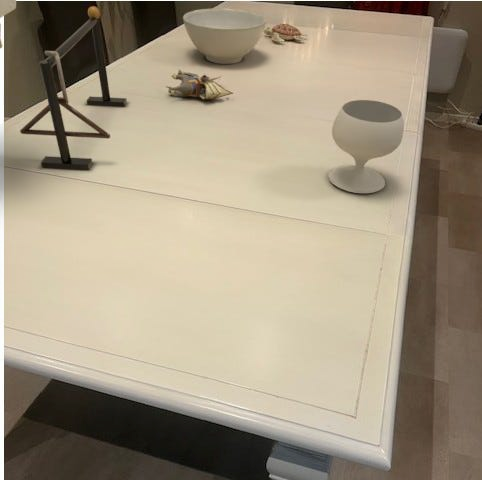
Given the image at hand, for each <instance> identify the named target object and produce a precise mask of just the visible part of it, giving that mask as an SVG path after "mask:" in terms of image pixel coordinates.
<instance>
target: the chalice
mask: <svg viewBox="0 0 482 480" xmlns="http://www.w3.org/2000/svg"><path fill="white" fill-rule="evenodd" d="M404 128H405V124H404V117H403V114H402V111H401V110H400V109H399V108H397V107H396V106H394V105H391V104H389V103H386V102H382V101H378V100H372V99H371V100H369V99H357V100H352V101H351V100H350V101H348V102H346V103H344V104H343V105H342V106H341V107H340V109H339V111H338V112H337V114H336V116H335V119H334V121H333V124H332V127H331V135H332V139H333V141H334V144H335V145H336V146H337V147H338V148H339V149H340V150H342V151H343V152H344V153H346V154H348V155H349V156H351V157H352V158H353V159H354V164H355V165H353V164H352V165H350V164H349V165H346V164H345V165H341V166H337V167H335V168H333V169H331V170H330V171H329V173H328V179H329V182H331V184H332V185H334V186H335V187H337V188H339V189H341V190H344V191H346V192H350V193H356V194H371V193H376V192H379V191H381V190H383V188H384V187H385V185H386V180H385V179H384V177H383V175H381V174H380V173H379V172H377V171H376V170H374V169H371V168H369V167H365V165H366V163H367V162H368V161H370V160H372V159H378V158H382V157H385V156H388V155H390V154H392V153H393V152H394V151H396V150H397V149H398V148H399V147H400V145H401V144H402V140H403V137H404Z"/></svg>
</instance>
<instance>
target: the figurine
mask: <svg viewBox="0 0 482 480" xmlns="http://www.w3.org/2000/svg"><path fill="white" fill-rule="evenodd" d="M170 77H171V78H172V79H173V80H176V81H177V80H179V81H181V82H180V83H179V85H178V86H175V87H172V86H165V88H167V89H168V91H167V93H168V94H171V95H172V96H174V95H176V96H178V97H182V98H186V97H192V98H195V97H196V98H197V97H198V98H200V99H201V100H203V101H205V100H209V101H211V100H215V99H219V98H222V97H226V96H229V95H234V92H232V91H230V90H228V89H226V88H224V87H222V86H223V85H222V84H220V83H217V82H216V80H218V81H220V80H221V78H222V77H223V75H220V76H216V77H211V78H210V76H207V74H203V75H201V76H199V75H198V74H196V73H191V72H186V71H185V70H180V69H178V72H176V73H173V74H171V76H170Z"/></svg>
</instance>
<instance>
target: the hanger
mask: <svg viewBox="0 0 482 480" xmlns="http://www.w3.org/2000/svg"><path fill="white" fill-rule="evenodd" d="M44 55H45V56H48V57H49V56H55V60H56V64H55V65H56V70H57V74H58V79H59V83H60V84H59V85H60V88H61V93H62V97H61V96H60V97H59V96H58V100H59V105H60V106H62V107H63V108H64V109H65V110H67V111H68V112H70V113H71V114H73V115H74V116H76V117H77V119H80V120H81V121H82V122H84V123H85V124H86V125H88V126H89V127H90V128H92V129H93V130H94V131H96V132H86V131H69V130H67V131H66V130H65V133H66V137H70V138H71V137H73V138H91V139H110V138H111V134H110V133H108V132H107V131H106V130H104V129H103V128H102V127H100V126H99V125H97V123H95V122H94V121H92V120H90V118H88V117H87V116H86V115H84V114H83V113H82V112H80V111H78V110H77V109H75V108H74V107H73V106H71V105H70V104H69V98H68V93H67V88H66V83H65V78H64V73H63V69H62V63H61V59H60V58H59V54H58V53H57V52H56V50H45V51H44ZM49 112H50V108H49V104H47V105H46V106H45V107H44V108H43V109H42V110H41V111H39V112H38V114H36V115H35V116H34V117H33V118H32V119H31V120H30V121H29V122H28V123H26V124H25V125H24V126H23V127H22V128H21V129H20V130H19V132H20V134H22V135H35V136H51V137H52V136H54V137H56V134H55V130H52V129H51V130H50V129H32V128H33V127H34V126H35V125H36V124H37V123H38V122H40V120H42V119H43V118H44V117H45V116H46V115H47V114H48V113H49Z"/></svg>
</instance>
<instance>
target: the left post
mask: <svg viewBox="0 0 482 480" xmlns="http://www.w3.org/2000/svg"><path fill="white" fill-rule="evenodd" d="M87 15H88V17H89V19H90V18H92V17H94V18H96V19H97V20H98V22H97V24H96V25H95V26H94V27H93V28H92V29H91V31H92V38H93V44H94V52H95V58H96V64H97V71H98V78H99V84H100V90H101V91H100V92H101V96H89V97H87V99H86V104H87V106H101V107H121V108H125V107H126V105H127V103H128V102H127V98H126V97H111V93H110V86H109V80H108V72H107V65H106V59H105V52H104V44H103V37H102V29H101V24H100V23H101V22H100V16H101V12H100V10H99V8H98V7H96V6H95V5H93V6H90V7H88V9H87Z"/></svg>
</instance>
